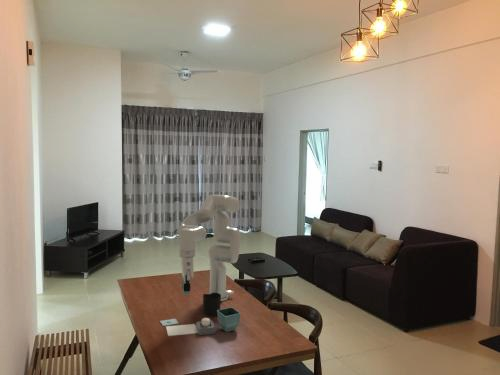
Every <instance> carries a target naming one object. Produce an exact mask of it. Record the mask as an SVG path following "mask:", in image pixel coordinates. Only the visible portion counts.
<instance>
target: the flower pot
mask: <svg viewBox="0 0 500 375" xmlns="http://www.w3.org/2000/svg"><path fill="white" fill-rule="evenodd" d="M241 314H242V313H241V312H240V311H238V310H237V309H236V308H234V307H232V306H231V307H227V308H220V310H217V316H216V317H217V321H218V324H219V327H220V328H221V329H222V330H223V331H224V332H225V333H228V332H232V331H235V330H236V329H237V328H238V326H239V324H240V319H241Z"/></svg>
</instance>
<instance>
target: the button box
mask: <svg viewBox="0 0 500 375" xmlns="http://www.w3.org/2000/svg"><path fill="white" fill-rule="evenodd" d="M195 326H196V329H197V331H198V333H197V334H198V335H199V336H202V335H212V334H216V326H215V324H214V321H213V320H210V326H209V327H202V320H201V321H196V322H195Z"/></svg>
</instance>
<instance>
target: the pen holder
mask: <svg viewBox="0 0 500 375" xmlns="http://www.w3.org/2000/svg"><path fill="white" fill-rule="evenodd" d="M202 296H203V297H202V306H203V314H204V315H205V316H207V317H218V316H217V310H221V302H222V301H221V294H219V293H211V294H210V293H204V294H203V295H202Z"/></svg>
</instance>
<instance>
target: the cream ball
mask: <svg viewBox="0 0 500 375" xmlns="http://www.w3.org/2000/svg"><path fill="white" fill-rule="evenodd" d="M201 321H202V327H209V326H210V321H211V319H210V318H208V317H203V318H202V319H201Z"/></svg>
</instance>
